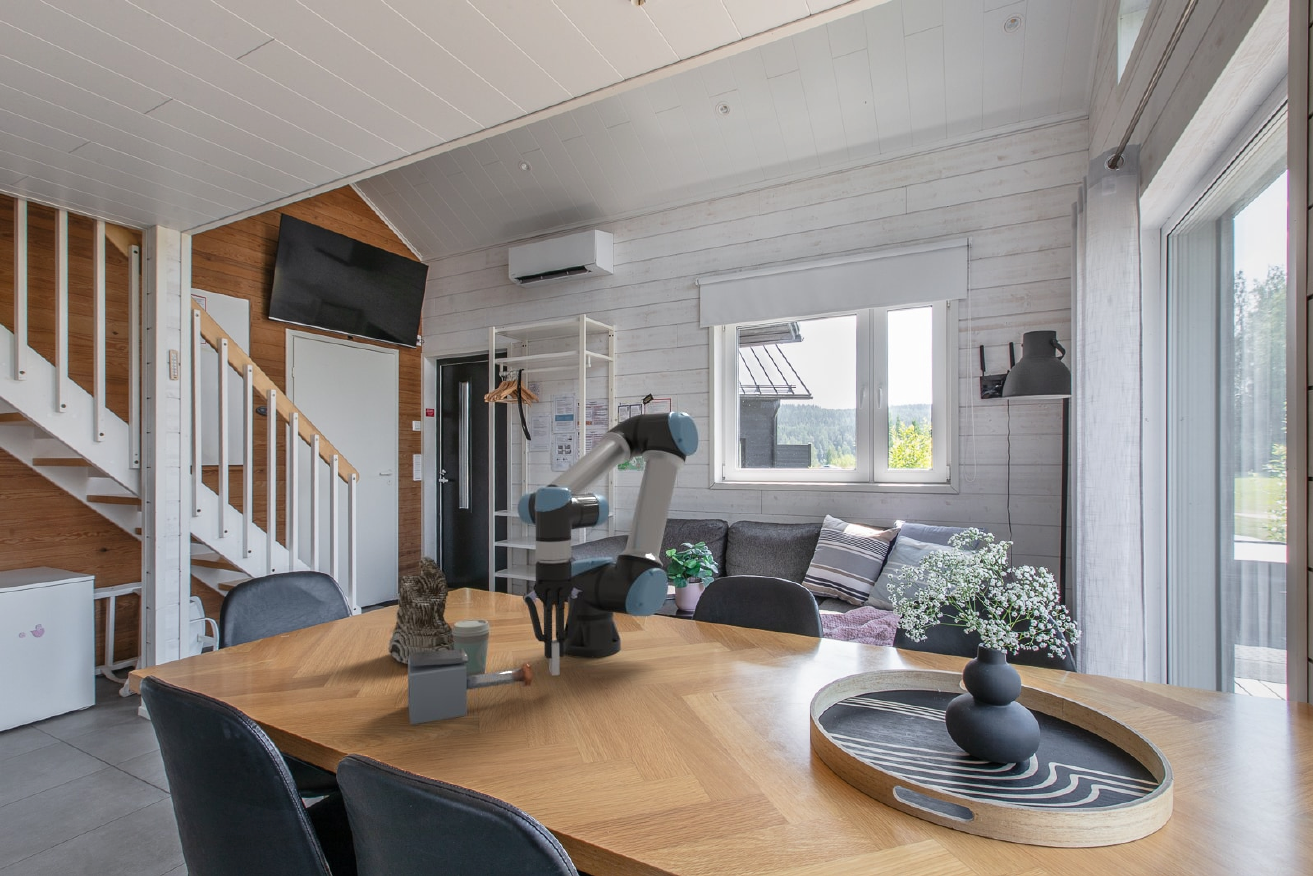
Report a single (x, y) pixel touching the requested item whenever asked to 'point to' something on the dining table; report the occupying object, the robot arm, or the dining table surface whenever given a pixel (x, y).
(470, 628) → the coffee cup
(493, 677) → the lynch pin
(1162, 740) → the dining table surface
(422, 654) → the keeper plate
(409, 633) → the sculpture
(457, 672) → the block
